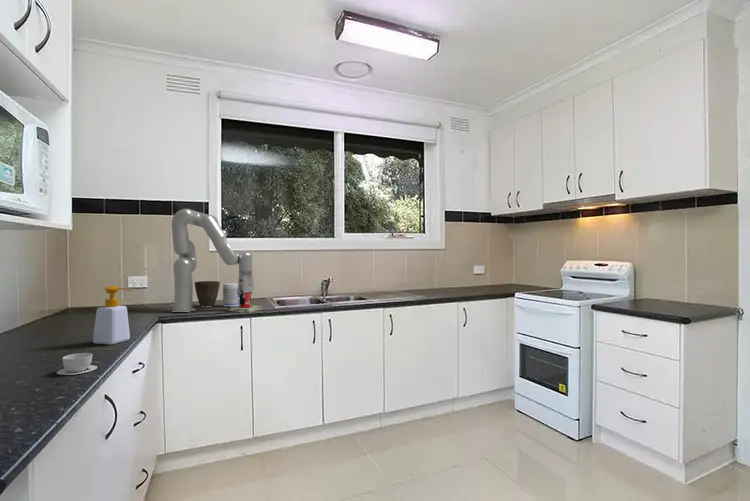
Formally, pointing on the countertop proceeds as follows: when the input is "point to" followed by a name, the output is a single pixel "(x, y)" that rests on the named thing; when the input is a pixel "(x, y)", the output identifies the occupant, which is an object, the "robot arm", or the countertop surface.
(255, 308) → the base plate
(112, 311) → the soap bottle
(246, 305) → the beverage can
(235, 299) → the supplement tub
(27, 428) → the countertop surface
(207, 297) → the plant pot
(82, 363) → the teacup
